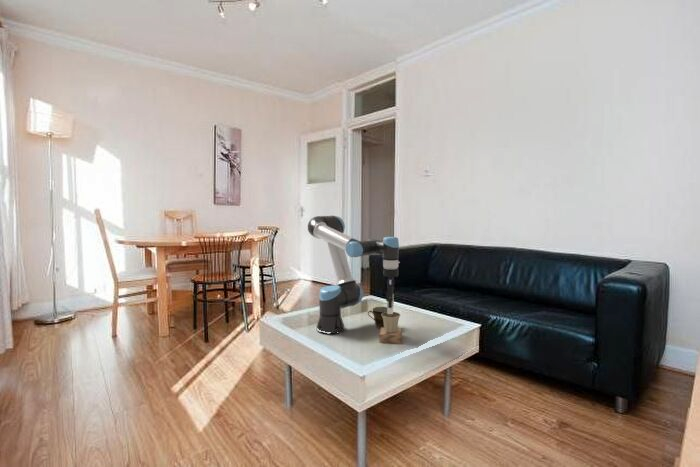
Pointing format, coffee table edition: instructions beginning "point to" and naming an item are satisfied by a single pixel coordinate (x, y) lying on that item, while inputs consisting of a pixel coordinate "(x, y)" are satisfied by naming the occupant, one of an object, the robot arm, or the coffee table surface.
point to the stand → (390, 336)
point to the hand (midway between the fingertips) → (390, 309)
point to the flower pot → (390, 322)
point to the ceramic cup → (378, 316)
